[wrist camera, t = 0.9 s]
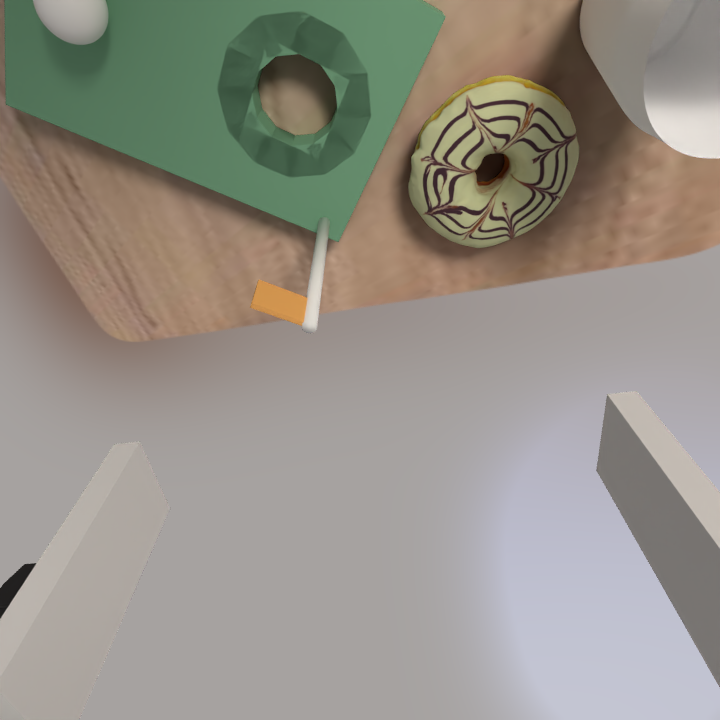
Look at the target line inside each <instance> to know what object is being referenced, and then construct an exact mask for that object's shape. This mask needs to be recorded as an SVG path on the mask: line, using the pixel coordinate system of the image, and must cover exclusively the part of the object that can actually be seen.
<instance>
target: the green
mask: <svg viewBox="0 0 720 720" xmlns="http://www.w3.org/2000/svg"><path fill="white" fill-rule="evenodd" d="M4 1H5V82H6V105H8V106H11V107H13V108H15V109H18V110H20V111H23V112H25V113H27V114H30V115H32V116H35V117H37V118H40V119H42V120H44V121H47V122H49V123H52V124H54V125H56V126H59V127H61V128H64V129H66V130H69V131H71V132H73V133H76V134H78V135H81V136H83V137H85V138H88V139H90V140H93V141H95V142H98V143H100V144H102V145H105V146H107V147H110V148H112V149H115V150H117V151H119V152H122V153H124V154H127V155H129V156H131V157H134V158H136V159H139V160H141V161H144V162H146V163H148V164H151V165H153V166H156V167H158V168H160V169H163V170H165V171H168V172H170V173H173V174H175V175H177V176H180V177H182V178H185V179H187V180H189V181H192V182H194V183H197V184H199V185H202V186H204V187H206V188H209V189H211V190H214V191H216V192H218V193H221V194H223V195H226V196H228V197H231V198H233V199H235V200H238V201H240V202H243V203H245V204H247V205H250V206H252V207H255V208H257V209H260V210H262V211H264V212H267V213H269V214H272V215H274V216H277V217H279V218H281V219H284V220H286V221H289V222H291V223H293V224H296V225H298V226H301V227H303V228H306V229H308V230H310V231H313V232H315V233H317V235H316V241H315V247H314V254H313V260H312V266H311V272H310V278H309V284H308V291H307V297H304V296H301V295H299V294H296V293H293V292H291V291H288V290H285V289H283V288H280V287H277V286H275V285H272V284H269V283H267V282H264V281H261V280H259V281H258V283H257V286H256V290H255V293H254V296H253V300H252V303H251V306H250V308H253V309H256V310H259V311H261V312H264V313H267V314H270V315H273V316H275V317H278V318H281V319H284V320H287V321H290V322H292V323H295V324H298V325H301V326H302V330H303V331H304V332H306V333H313V332H315V331H316V329H317V322H318V315H319V307H320V299H321V291H322V283H323V275H324V267H325V259H326V251H327V243H328V238H330V239H332V240H335V241H337V242H339V240H340V238H341V236H342V233H343V231H344V229H345V227H346V225H347V223H348V221H349V219H350V217H351V215H352V212H353V210H354V208H355V206H356V204H357V202H358V200H359V198H360V196H361V194H362V192H363V189H364V187H365V185H366V183H367V181H368V179H369V177H370V175H371V173H372V171H373V168H374V166H375V164H376V162H377V160H378V158H379V156H380V154H381V152H382V150H383V147H384V145H385V143H386V141H387V139H388V137H389V135H390V133H391V131H392V129H393V126H394V124H395V122H396V120H397V118H398V116H399V114H400V112H401V110H402V108H403V105H404V103H405V101H406V99H407V97H408V95H409V93H410V91H411V89H412V87H413V85H414V82H415V80H416V78H417V76H418V74H419V72H420V70H421V68H422V66H423V64H424V61H425V59H426V57H427V55H428V53H429V51H430V49H431V47H432V45H433V43H434V40H435V38H436V36H437V34H438V32H439V30H440V28H441V26H442V24H443V22H444V19H445V15H444V14H443V12H442V11H440V10H438V9H437V8H435V7H433V6H432V5H430V4H428V3H426V2H425V1H423V0H106V3H107V7H108V24H107V28H106V30H105V32H104V34H103V35H102V36H101V37H100V38H99V39H98V40H96V41H95V42H93V43H90V44H86V45H76V44H71V43H68V42H66V41H63V40H62V39H60V38H58V37H57V36H55V35H54V34H53V33H52V32H50V31H49V30H48V29H47V27H46V26H45V25H44V24H43V22H42V21H41V20H40V18H39V16H38V14H37V12H36V10H35V7H34V3H33V0H4ZM294 54H300V55H302V56H304V57H306V58H308V59H310V60H312V61H314V62H316V63H318V64H320V65H321V66H322V68H323V69H324V71H325V72H326V74H327V75H328V77H329V78H330V80H331V81H332V83H333V84H334V86H335V91H336V100H337V108H336V110H335V113H334V115H333V118H332V121H331V122H330V123H328V124H327V125H326V126H325V127H323V128H322V129H321V130H319V131H318V132H317V133H315V134H307V135H296V136H295V135H293V134H291V133H289V132H287V131H284V130H282V129H280V128H278V127H276V126H275V125H274V123H273V122H272V121H271V119H270V118H269V117H268V116H267V114H266V113H265V112H264V110H263V109H262V105H261V100H260V95H259V91H258V83H259V79H260V76H261V72H262V69H263V67H264V66H266V65H267V64H268V63H269V62H270V61H271V60H272V59H274V58H275V57H276V56H285V55H294Z"/></svg>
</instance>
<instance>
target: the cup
mask: <svg viewBox="0 0 720 720" xmlns="http://www.w3.org/2000/svg"><path fill="white" fill-rule="evenodd" d="M580 33H581V38H582V42H583V45H584V47H585V49H586V51H587V53H588V54H589V56H590V58H591V59H592V61H593V63H594V64H595V66H596V68H597V69H598V71H599V72H600V74H601V76H602V77H603V79H604V81H605V82H606V84H607V86H608V87H609V89H610V91H611V92H612V94H613V96H614V97H615V99H616V101H617V102H618V104H619V105H620V107H621V108H622V110H623V111H624V113H625V114H626V115H627V117H628V118H629V119H630V120H631V121H632V122H633V123H634V124H635V125H636V126H637V127H638V128H639V129H641V130H642V131H644V132H646V133H647V134H649V135H652V136H654V137H656V138H657V139H659V140H661V141H662V142H664V143H666V144H667V145H669V146H670V147H672V148H673V149H675V150H677V151H679V152H681V153H683V154H686V155H689V156H694V157H699V158H720V0H583V2H582V7H581V13H580Z"/></svg>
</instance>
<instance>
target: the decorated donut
mask: <svg viewBox="0 0 720 720" xmlns="http://www.w3.org/2000/svg"><path fill="white" fill-rule="evenodd" d="M494 153H503V154H504V157H503V158H505V163H504V166H503V169H502V171H501V172H500V173H499V175H497V176H496V177H495V178H493V179H492V180H490V181H488V182H486V181H485V182H479V181H477V175H476V173H475V171H476V170H477V168H478V167H479V166H480V164H481V163H482V160H483V158H484V157H485V156H487V155H489V154H494ZM578 158H579V145H578V142H577V135H576V128H575V125H574V122H573V120H572V118H571V114H570V111H569V110H567V109H566V107H565V105H564V103H563V101H562V100H561V99H560V98H559V97H558V96H557V95H555V94H554V93H553V92H551V91H550V90H548V89H547V88H545V87H543V86H540V85H537V84H536V83H533V82H532V81H530V80H524V79H522V78H517V77H514V76H510V75H504V76H492V77H489V78H486V79H484V80H481V81H479V82H477V83H474V84H470V85H466V86H465V87H463V88H462V89H460V90H458V91H457V92H455V93H454V94H453V95H452V96H451V97H449V98H448V99H447V101H446V102H445V103H444V104H443V105H442V106H441V107H440V108H439V109H437V111H435V112H434V114H433V115H432V116H431V117H430V118H429V119H428V120H427V121H426V122H425V124H424V125H423V127H422V129H421V132H420V133H419V136H418V142H417V145H416V147H415V151H414V154H413V155H412V157H411V166H412V171H411V175H410V181H409V184H408V189H409V196H410V199H411V201H412V204H413V206H414V208H415V209H416V210H417V211H418V213H419V214H420V216H421V217H422V218H423V219H424V221H425V222H426V223H427V225H428V226H429V227H431V228H432V229H434V230H435V231H436V232H437V233H439V234H440V235H442V236H443V237H445V238H447V239H448V240H450V241H453V242H455V243H458V244H461V245H464V246H470V247H474V248H483V247H489V246H494V245H497V244H499V243H502V242H505V241H507V240H509V239H512V238H514V237H517V236H519V235H521V234H524V233H525V232H527V231H529V230H530V229H532V228H533V227H535V226H536V225H537V224H538V223H540V222H541V221H542V220H543V219H544V218H545V217H546V216H547V215H548V214H549V213H550V212H552V210H553V209H554V208H555V207H556V205H557V204H558V203H559V202H560V201H561V199H562V197H563V196H564V194H565V191H566V189H567V188H568V186H569V184H570V182H571V180H572V178H573V176H574V172H575V168H576V166H577V163H578Z"/></svg>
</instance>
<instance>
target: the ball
mask: <svg viewBox="0 0 720 720" xmlns="http://www.w3.org/2000/svg"><path fill="white" fill-rule="evenodd" d="M33 3H34V7H35V10H36V12H37V14H38V16H39V18H40V20H41V21H42V22H43V24H44V25H45V26H46V27H47V29H48V30H49V31H50V32H52V33H53V34H54V35H55V36H57V37H58V38H60V39H62V40H63V41H66V42H68V43H71V44H76V45H86V44H90V43H93V42H95V41H96V40H98V39H99V38H100V37H101V36H102V35H103V34H104V32H105V30H106V28H107V24H108V7H107V3H106V0H33Z"/></svg>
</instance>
